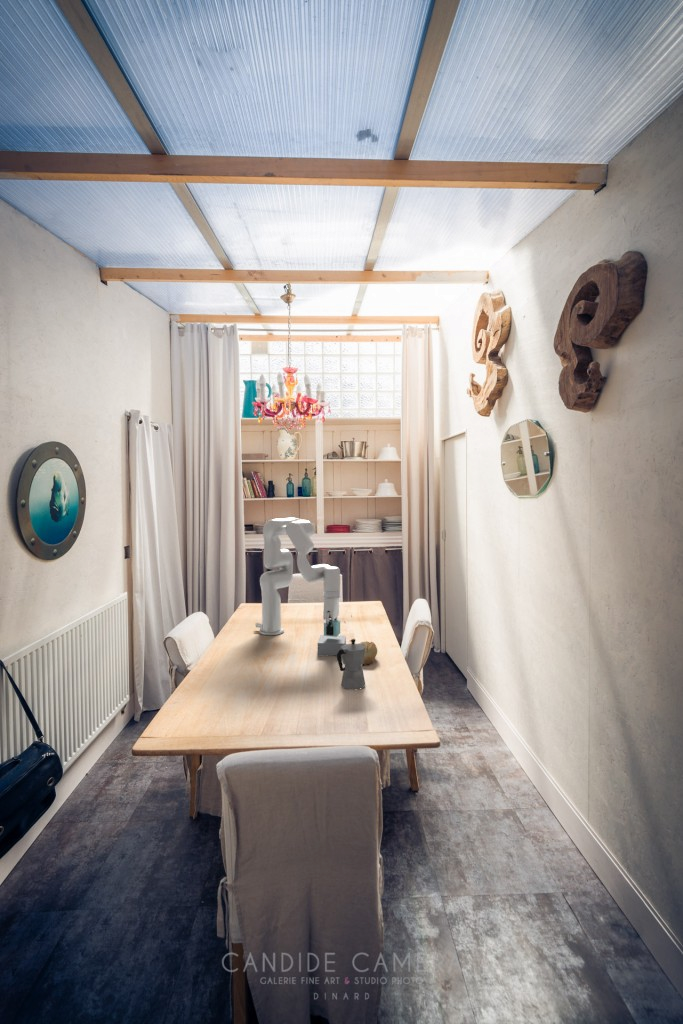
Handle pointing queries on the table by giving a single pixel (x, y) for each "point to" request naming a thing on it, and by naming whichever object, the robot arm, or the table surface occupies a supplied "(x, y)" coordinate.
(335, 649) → the gray block
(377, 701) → the table surface
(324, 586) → the robot arm
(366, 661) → the bread roll
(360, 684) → the coffeepot
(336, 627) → the teal cube
